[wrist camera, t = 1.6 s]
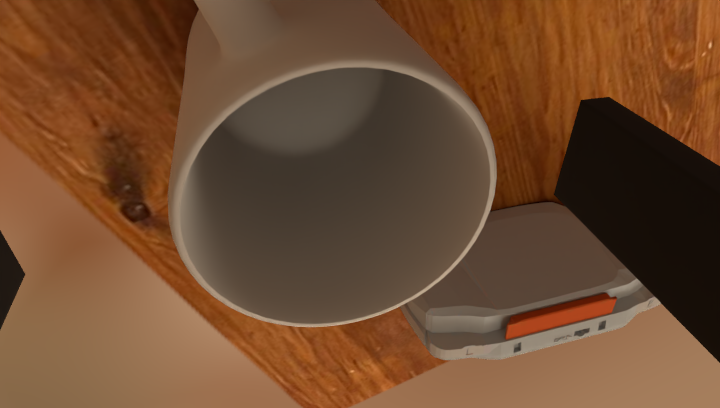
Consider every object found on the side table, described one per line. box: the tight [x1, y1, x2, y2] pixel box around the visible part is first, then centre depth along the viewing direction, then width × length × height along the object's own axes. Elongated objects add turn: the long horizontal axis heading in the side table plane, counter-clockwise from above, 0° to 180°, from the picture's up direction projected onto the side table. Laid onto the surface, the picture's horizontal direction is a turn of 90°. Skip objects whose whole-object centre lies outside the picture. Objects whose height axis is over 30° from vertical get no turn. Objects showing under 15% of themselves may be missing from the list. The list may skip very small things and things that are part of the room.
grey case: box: [400, 202, 661, 360], centre depth 26 cm, size 14×3×8 cm, turn 94°
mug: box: [168, 0, 497, 327], centre depth 15 cm, size 12×8×11 cm
